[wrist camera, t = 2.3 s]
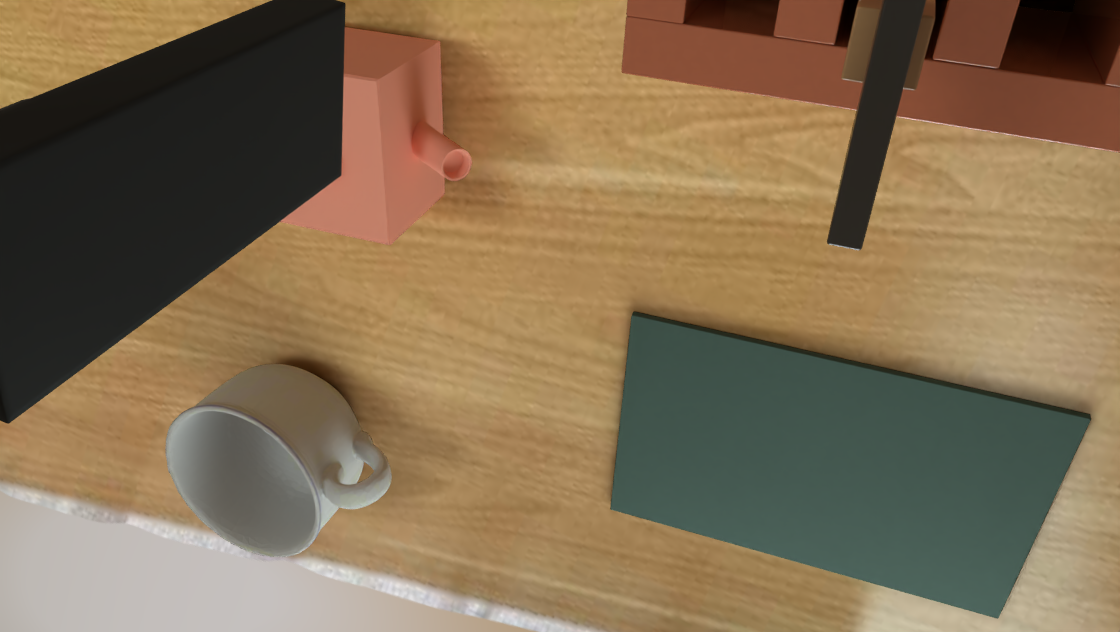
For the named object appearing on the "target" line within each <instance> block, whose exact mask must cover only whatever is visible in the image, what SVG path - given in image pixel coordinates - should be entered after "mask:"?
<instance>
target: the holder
mask: <svg viewBox="0 0 1120 632" xmlns="http://www.w3.org/2000/svg"><path fill="white" fill-rule="evenodd" d="M858 1H859V0H628V2H627V13H626V14H627V17H626V26H625V37H624V49H623V60H622V73H625V74H632V75H638V76H644V77H650V78H657V79H663V80H669V81H675V82H682V83H688V84H694V85H700V86H707V87H713V88H719V89H725V90H732V91H738V92H744V93H750V94H757V95H763V96H769V97H775V98H782V99H788V100H794V101H800V102H806V103H813V104H819V105H825V106H831V107H838V108H844V109H850V110H857V106H858V102H859V97H860V93H861V89H862V85H863V83H861V82H854V81H848V80H843V79H842V78H841V75H842V71H843V66H844V62H845V57H846V53H847V48H848V44H849V39H850V35H851V30H852V25H853V21H854V16H855V12H856V8H857V4H858ZM1019 4H1020V0H935V21H934V25H933V29H932V33H931V36H930V40H929V44H928V48H927V51H926V55H925V59H924V62H923V66H922V70H921V74H920V77H919V81H918V85H917V88H916V90H907V89H903V92H902V96H901V100H900V103H899V107H898V111H897V115H896V117H900V118H906V119H913V120H919V121H925V122H931V123H938V124H944V125H950V126H956V127H963V128H969V129H975V130H981V131H988V132H994V133H1000V134H1006V135H1013V136H1019V137H1025V138H1031V139H1037V140H1044V141H1050V142H1056V143H1062V144H1069V145H1075V146H1081V147H1087V148H1094V149H1100V150H1106V151H1112V152H1119V153H1120V0H1076V1H1075V4H1074V7H1073V9H1072V13H1069V12H1061V11H1053V10H1045V9H1038V8H1030V7H1022V6H1019Z"/></svg>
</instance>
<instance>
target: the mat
mask: <svg viewBox="0 0 1120 632" xmlns="http://www.w3.org/2000/svg"><path fill="white" fill-rule="evenodd" d="M1090 421H1091V417H1090V414H1086V413H1081V412H1077V411H1072V410H1068V409H1063V408H1059V407H1055V406H1050V405H1046V404H1041V403H1037V402H1032V401H1028V400H1024V399H1019V398H1015V397H1010V396H1006V395H1001V394H997V393H993V392H988V391H984V390H979V389H975V388H970V387H966V386H962V385H957V384H953V383H948V382H944V381H939V380H935V379H931V378H926V377H922V376H917V375H913V374H908V373H904V372H899V371H895V370H891V369H886V368H882V367H877V366H873V365H868V364H864V363H860V362H855V361H851V360H846V359H842V358H837V357H833V356H829V355H824V354H820V353H815V352H811V351H806V350H802V349H798V348H793V347H789V346H784V345H780V344H775V343H771V342H767V341H762V340H758V339H753V338H749V337H744V336H740V335H735V334H731V333H727V332H722V331H718V330H713V329H709V328H704V327H700V326H696V325H691V324H687V323H682V322H678V321H673V320H669V319H665V318H660V317H656V316H651V315H647V314H642V313H638V312H633V314H632V317H631V326H630V335H629V345H628V354H627V363H626V372H625V381H624V390H623V399H622V408H621V417H620V426H619V436H618V445H617V454H616V463H615V472H614V481H613V490H612V499H611V508H610V509H611V510H615V511H618V512H622V513H625V514H629V515H632V516H636V517H639V518H643V519H647V520H650V521H654V522H657V523H661V524H664V525H668V526H671V527H675V528H678V529H682V530H686V531H689V532H693V533H696V534H700V535H703V536H707V537H710V538H714V539H717V540H721V541H725V542H728V543H732V544H735V545H739V546H742V547H746V548H749V549H753V550H756V551H760V552H764V553H767V554H771V555H774V556H778V557H781V558H785V559H788V560H792V561H795V562H799V563H803V564H806V565H810V566H813V567H817V568H820V569H824V570H827V571H831V572H834V573H838V574H842V575H845V576H849V577H852V578H856V579H859V580H863V581H866V582H870V583H873V584H877V585H881V586H884V587H888V588H891V589H895V590H898V591H902V592H905V593H909V594H912V595H916V596H920V597H923V598H927V599H930V600H934V601H937V602H941V603H944V604H948V605H951V606H955V607H959V608H962V609H966V610H969V611H973V612H976V613H980V614H983V615H987V616H990V617H994V618H999V615H1000V613H1001V611H1002V609H1003V607H1004V605H1005V603H1006V600H1007V598H1008V596H1009V594H1010V592H1011V590H1012V588H1013V585H1014V583H1015V581H1016V579H1017V577H1018V575H1019V573H1020V570H1021V568H1022V566H1023V564H1024V562H1025V560H1026V558H1027V555H1028V553H1029V551H1030V549H1031V547H1032V545H1033V543H1034V540H1035V538H1036V536H1037V534H1038V532H1039V530H1040V528H1041V525H1042V523H1043V521H1044V519H1045V517H1046V515H1047V513H1048V510H1049V508H1050V506H1051V504H1052V502H1053V500H1054V498H1055V495H1056V493H1057V491H1058V489H1059V487H1060V485H1061V483H1062V480H1063V478H1064V476H1065V474H1066V472H1067V470H1068V468H1069V466H1070V463H1071V461H1072V459H1073V457H1074V455H1075V453H1076V451H1077V448H1078V446H1079V444H1080V442H1081V440H1082V438H1083V436H1084V433H1085V431H1086V429H1087V427H1088V425H1089V423H1090Z"/></svg>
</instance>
